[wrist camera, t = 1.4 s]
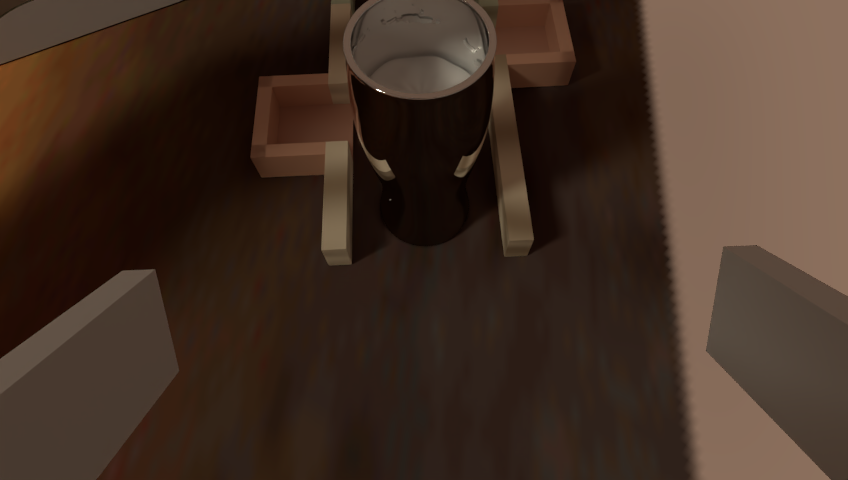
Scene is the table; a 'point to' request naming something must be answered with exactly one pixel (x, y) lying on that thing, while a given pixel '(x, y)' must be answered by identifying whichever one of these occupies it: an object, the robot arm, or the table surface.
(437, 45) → the beer glass
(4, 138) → the table surface
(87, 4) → the gable box
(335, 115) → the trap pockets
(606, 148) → the table surface
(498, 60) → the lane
